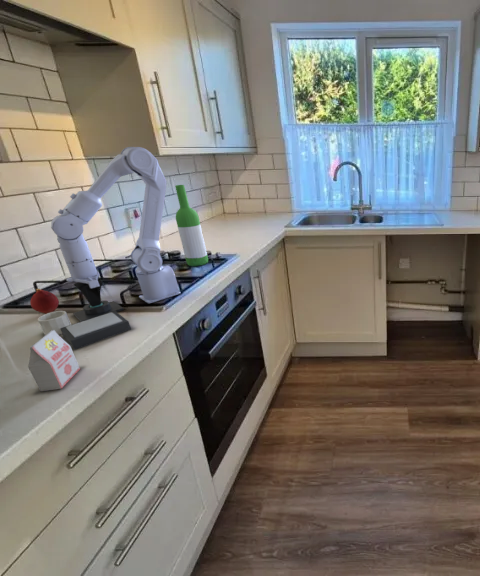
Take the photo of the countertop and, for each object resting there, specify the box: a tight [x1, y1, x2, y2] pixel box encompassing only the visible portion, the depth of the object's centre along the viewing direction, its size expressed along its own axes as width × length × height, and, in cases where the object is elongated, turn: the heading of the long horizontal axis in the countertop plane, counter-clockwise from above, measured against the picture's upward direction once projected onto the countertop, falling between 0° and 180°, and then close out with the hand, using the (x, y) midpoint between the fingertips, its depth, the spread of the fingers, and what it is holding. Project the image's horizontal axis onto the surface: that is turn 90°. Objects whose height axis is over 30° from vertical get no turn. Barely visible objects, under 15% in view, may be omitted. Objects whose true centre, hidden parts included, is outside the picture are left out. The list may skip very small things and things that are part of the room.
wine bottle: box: [174, 184, 209, 267], centre depth 136 cm, size 8×8×30 cm
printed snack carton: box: [27, 330, 81, 392], centre depth 73 cm, size 4×7×10 cm, turn 12°
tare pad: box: [72, 300, 125, 322], centre depth 103 cm, size 10×8×2 cm
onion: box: [29, 288, 60, 315], centre depth 102 cm, size 6×6×8 cm
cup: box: [36, 310, 72, 336], centre depth 93 cm, size 6×6×4 cm
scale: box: [60, 311, 132, 350], centre depth 92 cm, size 12×10×3 cm
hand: (96, 305), depth 103 cm, fingers closed, pressing on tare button
